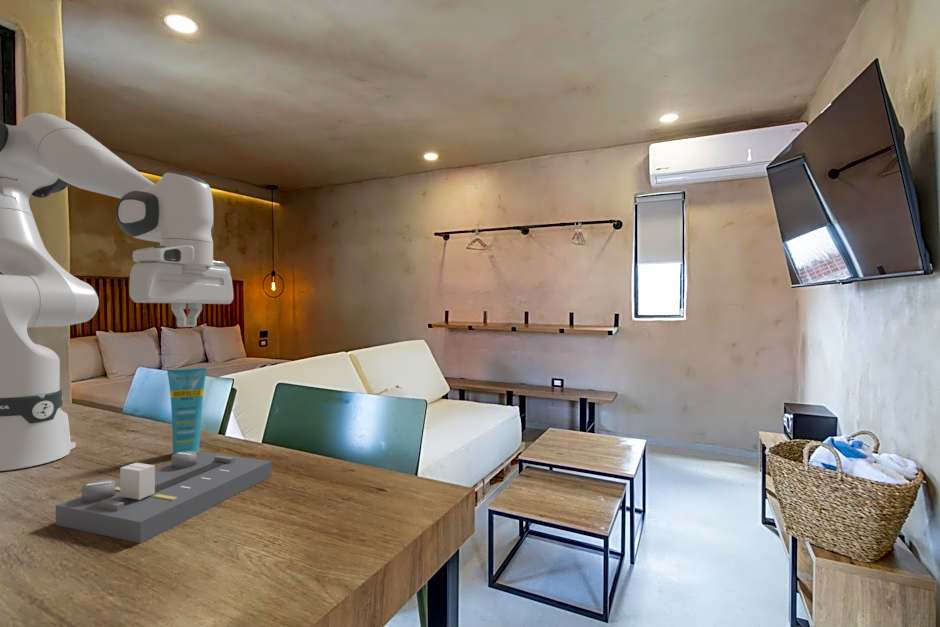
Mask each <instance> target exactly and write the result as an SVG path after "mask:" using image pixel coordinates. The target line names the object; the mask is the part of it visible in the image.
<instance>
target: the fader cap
mask: <svg viewBox="0 0 940 627" xmlns="http://www.w3.org/2000/svg"><path fill="white" fill-rule="evenodd" d="M155 469H156V465H155V464H148V463H142V462H134V463H130V464H128V465H125V466H121V467H119V473H120V474H119V482H120V496H121V497H127V498H132V499H138V500H140V499H142V498H145V497H147V496H150V495H152V494H154V493H155Z"/></svg>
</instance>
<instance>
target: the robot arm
mask: <svg viewBox="0 0 940 627" xmlns="http://www.w3.org/2000/svg"><path fill="white" fill-rule="evenodd" d="M70 186H73V187H76V188H78V189H81V190H85V191H88V192H92V193H93V192H94V193H97V194H101V195H105V196H109V197H113V198H117V199H119V200H118V202H117V204H116V205H117V206H116V209H115V211H116V212H115V218H116V221H117V224H118V226H119V227H120V229H121V231H122V232H123V233H124V234H126V235H127V236H129V237H132V238H134V239H138V240H142V241H148V242H154V243H159V245H158V246H157V245H156V246H152V247H151V246H150V247H145V248H141V249H136V250H133V251H132V261H133V262H135V264H133V266H132V267H131V270H130V274H129V282H128V283H129V284H128V285H129V286H128V287H129V289H128V290H129V292H128V294H129V297H130V299H131V300H132V301H133V302H134V303H138V304H142V303H143V304H170V310H171V311H172V313H173V315H174V316H175V318H176V326H177V328H191V327H192V328H193V327H195V328H196V327H197V323H198V322H197V320H198V318H199V315H200V314H201V312H202V310H203V305H205V304H207V305H208V304H210V305H230V304H232V302H233V300H234V287H233V280H232V279H233V278H232V275H231V269H230V267H229V266H228V264H226V262H225V261H223V260H222V261H220V260H217V261H216V260H215V259H214V240H213V235H214V232H215V223H214V200H213V193H212V189H211V187H210V185H209V183H208V182H206V181H205V180H204V179H201V178H200V177H196V176H194V175H189V174H186V173H182V172H178V171H177V172H176V171H167V172H165V173H164V174H163V175H162V176H161V178H160V180H159V181H158V182H155V181H153V180H152V179H150V178H149V177H147V176H145V175H144V174H143V173H141V172H139V171H138V170H137V169H136V168H134V167H133V166H131V165H130V164H129V163H127V162H126V161H125V160H123V159H122V158H121V157H119V156H118V155H117V154H115V153H114V152H112V151H111V150H110V149H109V148H107V146H105V145H103V144H102V143H101V142H100V141H98V140H97V139H95V138H94V136H92V135H90V134H89V133H88V132H86V131H85V130H84V129H82V128H80V127H79V126H78V125H75V124H74V123H72V122H71V121H68V120H66V119H64V118H62V117H59V116H57V115H56V114H52V113H48V112H35V113H31V114H29V115H26V116H24V118H22V120H20V122H19V123H18V124H17V125H10V124H6V123H4V122H2V120H1V119H0V472H3V471H12V470H19V469H24V468H30V467H34V466H39V465H43V464H47V463H50V462H53V461H56V460H59V459H62V458H64V457H66V456H67V455H69V454H70V453H71V451H72V450H73V449H75V448H77V447H76V446H77V445H76V441H71V436H70V435H71V434H70V433H71V432H70V425H69V424H70V423H69V416H68V413H66V411H63V409H62V407H63V402H64V401H63V400H64V395H63V390H62V389H61V387H60V386H61V385H60V384H61V383H60V382H61V369H60V368H61V360H60V356H59V355H58V354H57V353H56V352H55V351H54V350H53V349H51V348H49V347H47V346H45V345H42V344H39V343H35V342H33V341H32V339H31V338H30V336H29V334H28V328H53V327H55V328H56V327H57V328H59V327H68V326H74V325H78V324H82V323H87V322H89V321H90V320H91V319H93V318H94V316H95V315H96V313H97V312H98V309H99V305H100V304H99V303H100V302H99V301H100V300H99V296H98V294H97V291H96V290H95V289H94V287H93V286H92V285H90V284H89V283H88V282H85V281H83V280H81V279H79V278H77V277H76V276H74V275H73V274H71V273H69V272H68V271H67V270H66V269H65V268H64V267H62V266H61V265H60V264H59V263H58V262H57V261H56V260H55V259H54V257H53V256H52V255H51V254H50V253H49V251H48V250H47V248H46V247H45V244H44V242H43V239H42V237H41V234H40V232H39V229H38V226H37V224H36V220H35V217H34V214H33V212H32V209H31V207H30V198H31V196H33V197H36V198H40V199H41V198H48V197H49V196H50V195H51V194H56V193H60V192H61V191H63V190H65V189H67V188H68V187H70ZM186 309H188V310H189V312H188V315H186V313H185V311H184V310H186Z"/></svg>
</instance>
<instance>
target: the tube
mask: <svg viewBox="0 0 940 627" xmlns="http://www.w3.org/2000/svg"><path fill="white" fill-rule="evenodd" d="M207 368H208V367H195V368H183V369H182V368H180V369H178V368H177V369H175V368H174V369H166V370H167V371H166V372H167V378H168V383H169V386H168V387H169V394H170V406H171V407H170V408H171V410H170V411H171V425H172V426H171V427H172V428H171V429H172V432H171V433H172V455H173V454H176V453H179V452H185V451H194V452H196V454H199V453H200V452H199V451H200V442H201V441H200V440H201V425H202V413H203V402H204V392H205V391H204V390H205V384H206V376H207V370H208V369H207Z"/></svg>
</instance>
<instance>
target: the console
mask: <svg viewBox="0 0 940 627" xmlns="http://www.w3.org/2000/svg"><path fill="white" fill-rule="evenodd" d="M170 459H171V460H170V461H171V463H169V464H165V465H163V466H161V467H157V468H155V493H154V494H152V495H150V496H147V497H145V498H142V499H140V500H138V499H132V498H127V497H121V496H120V481H119V482H116V481H115V480H114V479H100V480H95V481H91V482H89V483H86V484H84V485H82V487H81V495H80V496H77V497H74V498H72V499H70V500H66V501H63V502H61V503H58V504H55V526H58V527H63V528H69V529H72V530H77V531H82V532H86V533H87V532H88V533H91V534H96V535H99V536H100V535H101V536H104V537H105V536H106V537H109V538H114V539H119V540H124V541H128V542H133V543H138V544H142V543H144V542H146V541H148V540H150V539H152V538H154V537H155V536H158V535H160V534H162V533H163V532H166V531H168V530H169V529H171V528H174V527H175V526H177V525H179V524H181V523H183V522H185V521H186V520H187V521H188V520H189V519H191V518H192V517H195V516H197V515H199V514H201V513H202V512H205V511H206V510H209V509H211V508H212V507H214V506H216V505H218V504H220V503H222V502H225V501H226V500H228V499H230V498H232V497H234V496H236V495H238V494H240V493H242V492H244V491H245V490H247V489H249V488H252V487H254V486H256V485H257V484H260V483H261V482H264V481H265V480H267V479H269V478H270V477H272V465H273V464H272V463H273V461H272V460H266V459H258V458H257V459H256V458H252V457H251V458H249V457H243V456H236V455H235V456H234V455H228V454H220V453H214V452H213V453H212V452H206V451H205V452H204V451H202V452H198V453H197V454H196V452H194V451H185V452H179V453H176V454H173V453H172V455H171V458H170Z"/></svg>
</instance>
